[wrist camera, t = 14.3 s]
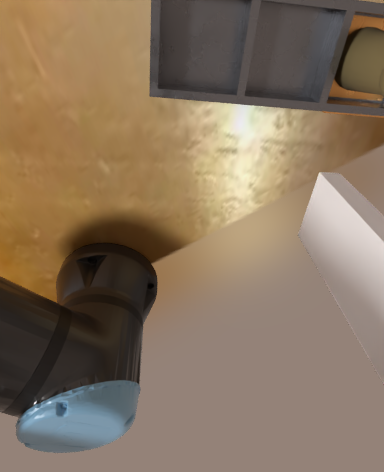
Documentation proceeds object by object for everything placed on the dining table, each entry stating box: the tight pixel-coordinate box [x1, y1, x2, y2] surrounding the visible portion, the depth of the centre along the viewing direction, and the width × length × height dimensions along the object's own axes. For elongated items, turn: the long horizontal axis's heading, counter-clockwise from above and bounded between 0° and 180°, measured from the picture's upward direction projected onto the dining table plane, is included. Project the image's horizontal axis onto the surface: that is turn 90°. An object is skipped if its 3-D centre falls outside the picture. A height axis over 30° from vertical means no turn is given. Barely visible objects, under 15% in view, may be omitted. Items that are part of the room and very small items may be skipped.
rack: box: [150, 0, 384, 118], centre depth 33 cm, size 27×10×4 cm, turn 85°
